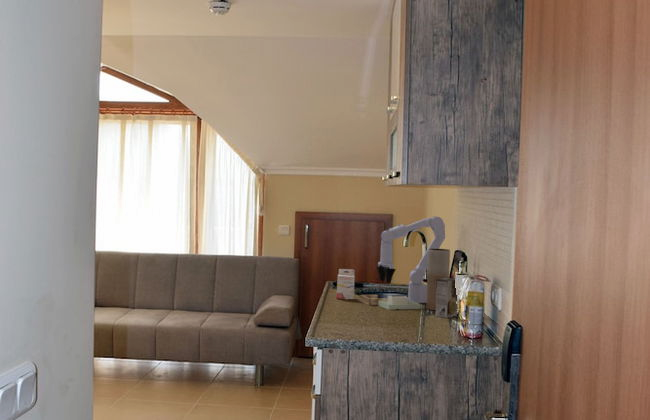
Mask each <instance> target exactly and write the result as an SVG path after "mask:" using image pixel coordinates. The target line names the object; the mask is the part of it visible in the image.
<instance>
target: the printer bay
mask: <svg viewBox="0 0 650 420" xmlns="http://www.w3.org/2000/svg"><path fill="white" fill-rule="evenodd" d="M378 301H388V297H386V298H385V297H383V298H381V297H380V298H379V295H378V294H359V295H358V302H360V303H363V304H366V305H368V306H378Z"/></svg>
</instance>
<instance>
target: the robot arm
mask: <svg viewBox="0 0 650 420" xmlns="http://www.w3.org/2000/svg"><path fill="white" fill-rule="evenodd" d="M445 225H446V224H445V222H444V220H443V218H442V217H440V216H432V217H427V218H423V219H420V220H418V221H416V222H413V223H410V224H408V225H405V224H400V223H399V224H397V226H395V227H390V228H388V229H386V230H384V231H382V232H381V235H380V239H381V241H380V243H381V244H380V259H379V261H378V262H377V265H378V266H376V270H377V272H378V276H379V281H380V282H386V283H387V284H391V283H392V279H393V275H394V274H395V272H396V270H397V269H396V268H395V264H393V240H397V239H400V238H402V237H406V236H408V233H409V232H411V231H414V230H417V229H421V228H431V230H432V231H433V232H432V233H433V235H434V238H433V240H432V241H431V242H430V244H429V246H428V248H427V249H426V250H425V252H424V254H423V256H422V258H421V259H420V261H419V263H418V264H417V265H416V267H415V268H414V269H412V270H411V271H410V272H409V280H410V282H408V293H407V294H408V296H407V297H408V300H410V301H413V302H416V303H419V304H421V303H422V304H424V303H425V304H426V301H427V283H425V284H424V282H423V281H424V275H425V274H426V272H427V270H428V249H441V246H442V245H443V242H444V241H445V239H446V226H445Z"/></svg>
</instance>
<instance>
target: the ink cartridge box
mask: <svg viewBox="0 0 650 420" xmlns="http://www.w3.org/2000/svg"><path fill="white" fill-rule="evenodd" d="M355 277H356V276H355V269H350V268H339V269H338V274H337V281H336V299H337V300H348V299H353V300H354V298H355V279H356V278H355Z"/></svg>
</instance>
